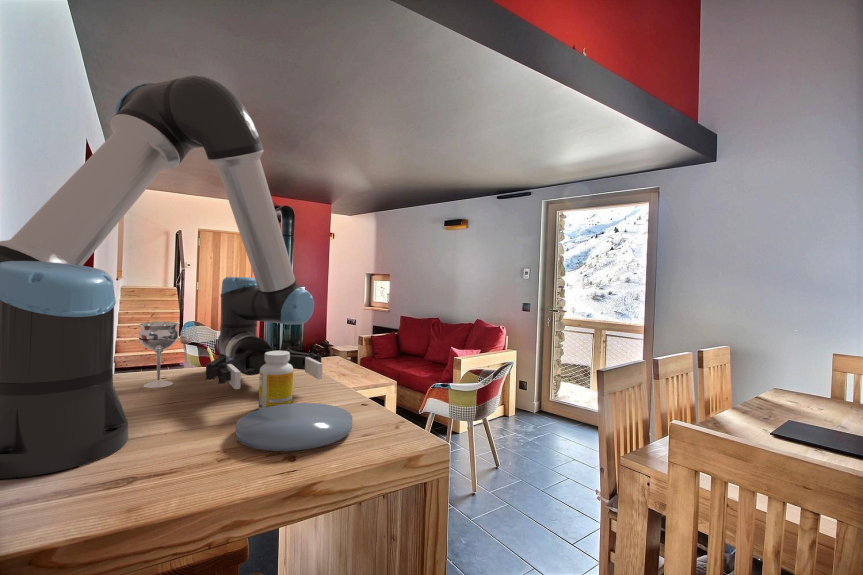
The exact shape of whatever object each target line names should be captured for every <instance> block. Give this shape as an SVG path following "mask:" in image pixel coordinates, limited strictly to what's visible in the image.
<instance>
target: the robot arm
mask: <svg viewBox="0 0 863 575" xmlns="http://www.w3.org/2000/svg"><path fill="white" fill-rule="evenodd" d="M114 113H115V114H114V116H112V118H111V120H110V128H111V131H112V134H111V135H110V136H109V137H108V138H107V139H106V140H105V141H104V142H103V143H102V144H101V145H100V146H99V148H98V149H96V150H95V152H94V153H93V154H91V156H90V157H89V158H87V159H86V161H85V162H84V163H83V164H82V165H81V166H80V167H79V168H78V169H77V170H76V171H75V172H74V174H72V175H71V177H70V178H68V179H67V181H65V183H64V184H63V185H61V187H60V188H58V190H57V191H56V192H55V193H54V194H53V195H52V196H51V197H50V198H49V199H48V200H47V201H46V202H45V203H44V204H43V205H42V206H41V208H39V210H37V211H36V212H35V214H34V215H32V216H31V218H30V219H29V220H28V221H27V222H25V224H24V225H23V226H22V227H21V228H20V229H19V230H18V231H17V232H16V233H15V234H14V235H13V236H12V237H11V238H10V239H7V240H0V479H15V478H16V477H17V478H26V477H27V478H28V477H34V476H39V475H41V476H42V475H44V474H50V473H55V472H59V471H64V470H69V469H72V468H75V467H76V468H77V467H79V466H82V465H83V466H84V465H86V464H89V463H91V462H94V461H97V460H100V459H102V458H104V457H107V456H109V455H111V454H113V453H115V452H117V451H118V450H120V449H121V448H122V447H124V446H125V445H126V443H127V442H128V440H129V421H128V418H127V416H126V414H125V411H124V409H123V406H122V404H121V401H120V399H119V396H118V393H117V391H116V388H115V386H114V379H113V378H114V335H115V334H114V332H115V331H114V326H115V323H114V322H115V306H116V302H117V301H116V296H115V287H114V281H113V279H112V276H111V275H110V274H109V273H108V272H106V271H104V270H102V269H99V268H96V267H91V266H86V265H85V264H86V262H87V261H88V260H89V259H90V258H91V256H92V255H93V254H94V252H95V251H96V250H97V249H98V248H99V246H101V244H102V243H103V242H104V241H105V239H106V238H107V237H108V235H109V234H110V233H111V232H112V230H114V228H115V227H116V226H117V225H118V224H119V223H120V221H121V220H122V219H123V217H124V216H125V215H126V214H127V213H128V212H129V210H130V209H131V208H132V207H133V205H134V204H135V203H136V202H137V200H138V199H139V198H140V197H141V196H142V195H143V193H144V192H145V191H146V190H147V189H148V187H149V186H150V185H151V184H152V182H154V180H155V179H156V177H157V176H158V175H159V174H160V173H161V172H162V170H174V169H176V168H177V167H179V165H180V164H181V163H182V161H184V159H185V158H186V157H187V155H188V154H189V153H190V151H192V150H193V149H197V148H203V150H204V151H205V152H204V153H205V155H206V157H207V158H206V159H207V160H208V162H210V163H211V164H213V165H215V167H216V168H217V170H218V171H217V172H218V175H219V176H220V179H221V182H222V185H223V188H224V191H225V194H226V197H227V199H228V202H229V206H230V209H231V212H232V214H233V218H234V221H235V223H236V226H237V229H238V232H239V235H240V238H241V241H242V244H243V247H244V249H245V253H246V256H247V258H248V261H249V264H250V266H251V270H252V273H253V276H254V277H250V276H246V277H245V276H244V277H243V276H242V277H241V276H227V277H225V278H223V279H222V282H221V292H220V328H219V332H220V333H219V335H218V337H217V340H216V350H217V352H218V353H219V355H218V357H216V358H215V359H213V360H212V361H210V362H208V363H207V364H205V380H206V381H213V380H214V379H216V378H217V384H218V385H224V384H226V382H227V383H228V384H229V385H231V387H232V388H233V389H234V390H240V389H241V374H243V375H246V376H256V375H260V368H261V367H262V366H263V365H264V364H266V362H265V360H264V359H265V353H266V352H270V351H274V350H273V349H272V346H271V345H270V344H269V343H268V342H267V341H266V340H264V339H262V338H261V337H259V336H257V334H258V331H257V330H258V329H257V328H258V322H268V323H275V324H284V325H286V326H287V325H302V324H305V323H307V322H308V321H309V320H310V319H311V318H312V315H313V313H314V309H315V300H314V297H313V295H312V294H311V293H310V292H309V291H308V290H306V289H303V288H299V287H298V283H297V280H296V278H295V274H294V271H293V267H292V264H291V263H292V262H291V260H290V257H289V252H288V249H287V246H286V243H285V239H284V236H283V232H282V230H281V226H280V222H279V220H278V216H277V211H276V209H275V205H274V202H273V198H272V195H271V192H270V188H269V185H268V180H267V178H266V174H265V170H264V167H263V165H262V161H261V156H262V155H263V153H264V147H263V144H262V141H261V140H262V139H261V137H260V134H259V132H258V128H257V126H256V125H255V122H254V121H253V119H252V117H251V114H250V113H249V112H248V110H247V108H246V106H244V104H243V102H241V100H240V99H239V97H237V96H236V95H235V94H234V93H233V92H232V91H231V90H230V89H229V88H228V87H227V86H225V85H224V84H222V83H220V82H219V81H217V80H215V79H213V78H210V77H206V76H202V75H193V74H192V75H187V76H183V77H180V78H179V77H178V78H175V79H170V80H164V81H160V82H156V83H154V82H148V83H142V84H139V85H136V86H134V87H132V88H130V89H128V90H126V91H125V92H124V93H122V95H121V96H120V97H119V99H118V100H117V102H116V104H115V108H114ZM284 351H288V352H290V359H289V361H288V363H289V364H291V365H292V367H293V370H303V371H304V372H305V373H306V374H308V375H310V376H311V377H313V378H315V379H317V380H323V363H322V355H321V354H315V353H314V352H310V353H308V352H301V351H295V350H292V349H289V348H287V349H285V350H284ZM13 477H14V478H13ZM17 478H16V479H17Z"/></svg>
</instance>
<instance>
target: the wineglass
mask: <svg viewBox="0 0 863 575" xmlns="http://www.w3.org/2000/svg"><path fill="white" fill-rule="evenodd" d="M179 324H180V323H179V322H173V321H172V322H171V321H155V322H152V321H151V322H142V323H139V324H138V326H139V327H140V329H139V331H138V340H139V342H140V344H142V345H143V347H145V348H146V349H150V350H151V351H153V352H154V353H156V375H157V376H156V377H157V378H156V380H154V381H150V382H147V383H145V384H143V385H142V386H143V387H144V388H149V389H151V388H152V389H155V388H164V387H169V386H172V385H173V384H174V382H172V381H168V380H162V379H160V378H161V377H160V376H161V365H162V364H161V362H162V361H161V359H162V353H163V352H164V351H165V350H167V349H169V348H170V347H172V346H173V345H174V344H175V343H176V342H177V341H178V339H179V336H180V335H179V334H180V333H179V329H178V326H179Z"/></svg>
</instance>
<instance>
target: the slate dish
mask: <svg viewBox="0 0 863 575" xmlns="http://www.w3.org/2000/svg"><path fill="white" fill-rule="evenodd" d="M352 428H353V415H352V414H351V413H350V412H349V411H348V410H346V409H344V408H342V407H339V406H335V405H331V404H327V403H326V404H324V403H318V402H317V403H315V402H299V403H298V402H296V403H293V402H292V404H283V405H277V406H271V407H266V408H263V409H259V408H258V409H257V410H254V411H250V412H248V413H246V414H245V415H243V416H242V417H241V418H239V419H238V420H237V422H236V424H235V437H236V440H238V442H240V443H241V444H242V445H244V446H247V447H250V448H254V449H256V450H257V449H258V450H263V451H273V452H275V451H276V452H278V451H279V452H288V451H290V452H291V451H292V452H293V451H302V450H303V451H304V450H308V449H309V450H310V449H313V448H319V447H323V446H327V445H330V444H332V443H335V442H337V441H340V440H342V439H343V438H345V437H346V436H347V435H349V434H350V432H351V431H352V430H353V429H352Z"/></svg>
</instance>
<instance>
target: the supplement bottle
mask: <svg viewBox="0 0 863 575" xmlns="http://www.w3.org/2000/svg"><path fill="white" fill-rule="evenodd" d="M289 359H290V352H288V351H285V350H273V351H270V352H266V353H265V359H264V360H265V362H266V364H264V365H263V366H262V367H261V368H260V374H259V382H258V383H259V384H258V410H259V409H263V408H266V407H271V406H277V405H283V404H293V389H294V388H293V387H294V369H293V367H292V365H291V364H289V363H288V361H289Z"/></svg>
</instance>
